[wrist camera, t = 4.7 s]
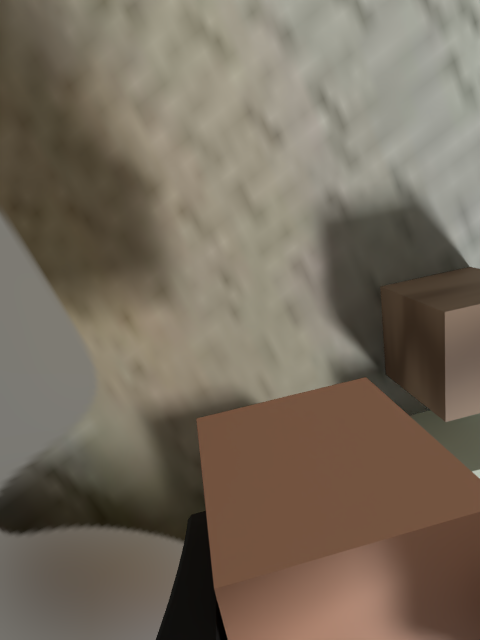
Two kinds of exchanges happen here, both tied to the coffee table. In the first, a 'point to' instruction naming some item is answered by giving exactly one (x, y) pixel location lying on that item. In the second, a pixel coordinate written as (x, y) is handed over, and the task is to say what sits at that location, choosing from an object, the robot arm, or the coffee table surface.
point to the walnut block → (435, 340)
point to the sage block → (455, 436)
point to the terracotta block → (339, 521)
